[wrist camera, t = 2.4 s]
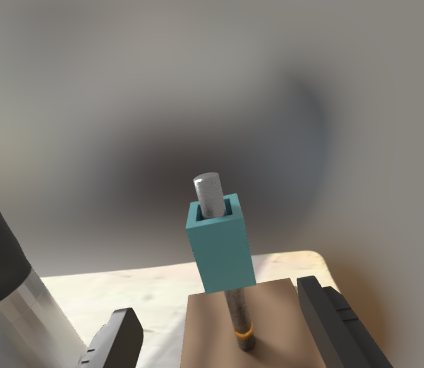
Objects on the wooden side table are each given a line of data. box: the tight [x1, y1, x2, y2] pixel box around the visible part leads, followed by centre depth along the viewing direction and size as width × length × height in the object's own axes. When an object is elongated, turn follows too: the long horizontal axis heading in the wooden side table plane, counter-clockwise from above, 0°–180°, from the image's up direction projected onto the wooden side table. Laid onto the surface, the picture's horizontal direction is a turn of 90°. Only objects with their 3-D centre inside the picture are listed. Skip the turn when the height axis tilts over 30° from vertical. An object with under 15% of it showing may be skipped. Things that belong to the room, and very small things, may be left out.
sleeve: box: [186, 194, 256, 294], centre depth 22 cm, size 5×5×8 cm
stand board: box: [180, 278, 326, 368], centre depth 28 cm, size 18×18×2 cm
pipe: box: [193, 173, 256, 352], centre depth 24 cm, size 3×3×24 cm
